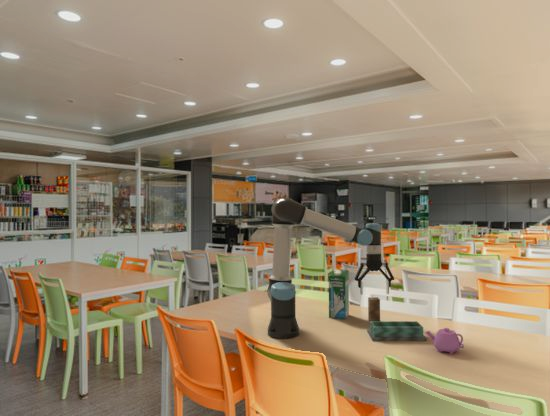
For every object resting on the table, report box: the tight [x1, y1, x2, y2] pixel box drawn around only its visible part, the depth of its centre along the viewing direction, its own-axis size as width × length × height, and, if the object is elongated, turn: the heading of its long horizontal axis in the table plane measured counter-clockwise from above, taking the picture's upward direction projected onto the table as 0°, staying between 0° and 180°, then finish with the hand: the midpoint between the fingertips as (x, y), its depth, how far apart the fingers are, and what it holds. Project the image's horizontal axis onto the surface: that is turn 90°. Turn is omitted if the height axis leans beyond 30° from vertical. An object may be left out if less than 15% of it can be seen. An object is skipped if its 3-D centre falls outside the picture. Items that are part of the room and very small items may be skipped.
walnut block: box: [367, 296, 381, 323], centre depth 213 cm, size 5×5×12 cm
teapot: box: [425, 327, 465, 355], centre depth 171 cm, size 10×15×9 cm
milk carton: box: [328, 268, 350, 320], centre depth 223 cm, size 9×9×25 cm
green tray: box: [366, 320, 428, 342], centre depth 189 cm, size 24×12×6 cm, turn 88°
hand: (374, 293), depth 213 cm, fingers open, 13 cm apart
